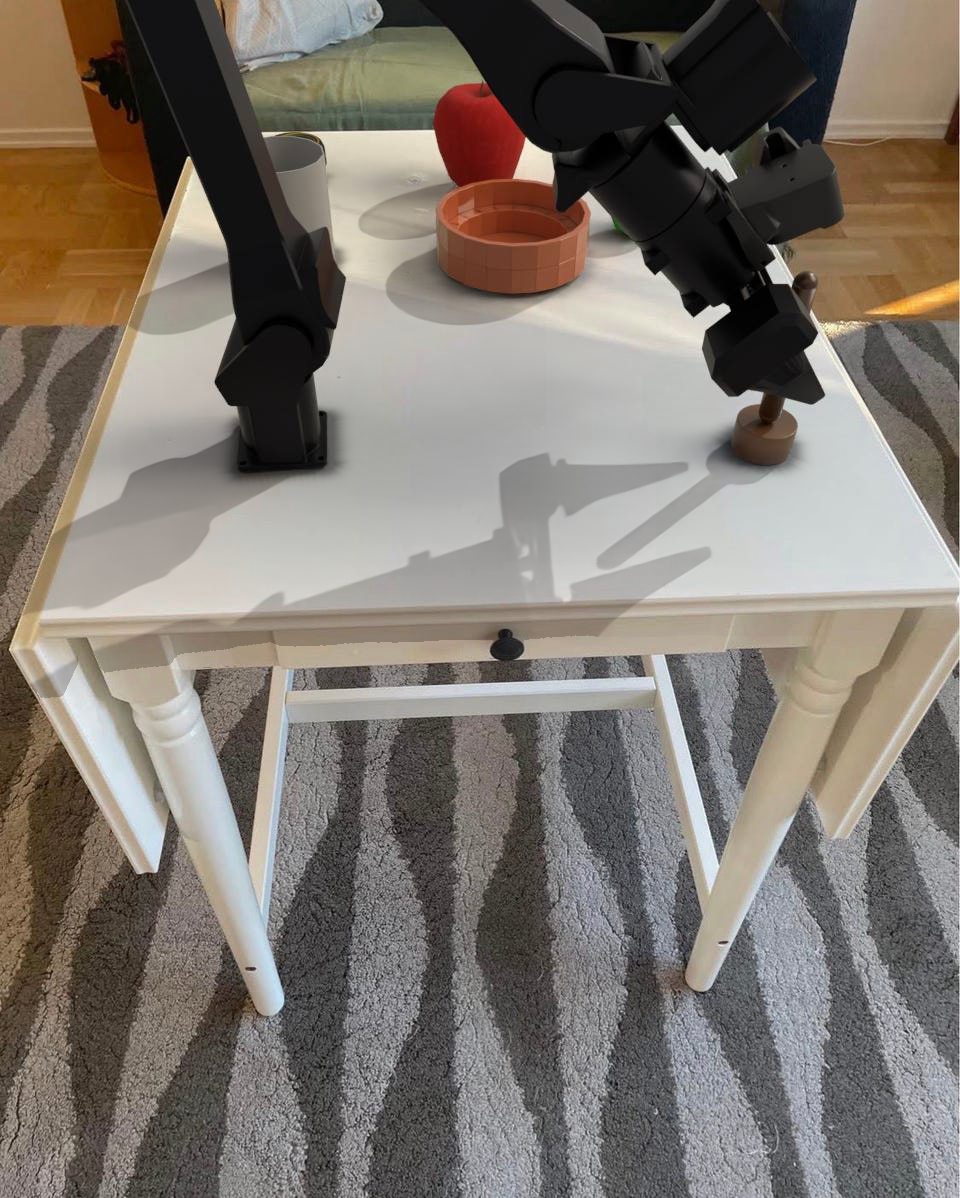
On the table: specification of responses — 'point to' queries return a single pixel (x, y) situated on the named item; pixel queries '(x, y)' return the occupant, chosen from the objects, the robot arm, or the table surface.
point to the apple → (476, 135)
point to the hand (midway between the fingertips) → (801, 361)
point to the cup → (302, 180)
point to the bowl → (510, 236)
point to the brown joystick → (771, 408)
